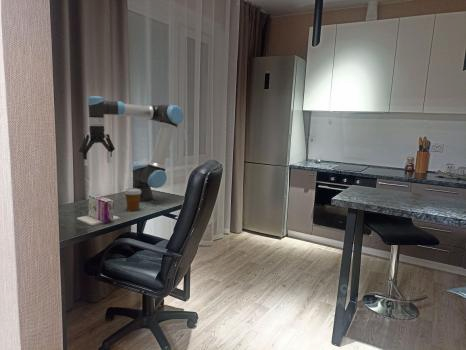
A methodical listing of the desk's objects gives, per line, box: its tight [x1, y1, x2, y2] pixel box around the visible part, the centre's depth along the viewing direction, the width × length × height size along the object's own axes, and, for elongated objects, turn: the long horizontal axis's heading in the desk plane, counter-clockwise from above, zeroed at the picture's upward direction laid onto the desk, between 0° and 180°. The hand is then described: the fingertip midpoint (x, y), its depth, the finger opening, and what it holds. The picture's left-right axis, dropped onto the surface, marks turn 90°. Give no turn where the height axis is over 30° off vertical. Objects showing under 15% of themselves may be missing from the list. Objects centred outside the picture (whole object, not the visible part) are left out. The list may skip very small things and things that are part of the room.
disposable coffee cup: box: [124, 187, 141, 212], centre depth 196 cm, size 10×10×12 cm
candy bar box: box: [87, 194, 115, 223], centre depth 174 cm, size 11×5×16 cm
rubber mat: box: [76, 214, 120, 226], centre depth 176 cm, size 16×14×1 cm
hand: (98, 164), depth 183 cm, fingers open, 13 cm apart
